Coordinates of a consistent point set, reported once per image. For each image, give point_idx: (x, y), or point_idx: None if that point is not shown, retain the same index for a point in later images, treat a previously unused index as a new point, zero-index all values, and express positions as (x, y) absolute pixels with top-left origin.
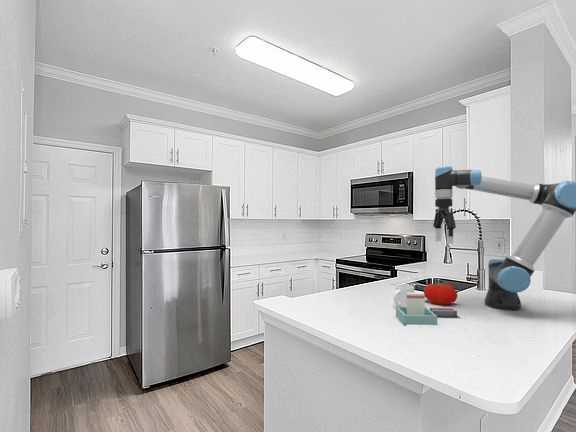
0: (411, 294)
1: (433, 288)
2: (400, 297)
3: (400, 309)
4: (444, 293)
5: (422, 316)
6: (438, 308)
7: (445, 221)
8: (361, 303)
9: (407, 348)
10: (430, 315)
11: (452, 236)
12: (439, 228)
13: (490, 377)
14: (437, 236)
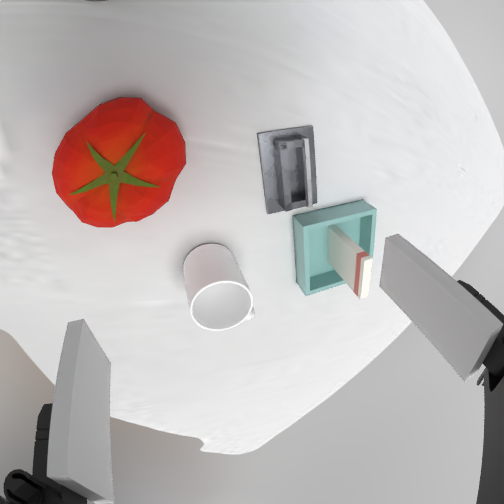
0: (367, 286)
1: (159, 202)
2: (237, 296)
3: (329, 284)
4: (181, 157)
5: (373, 239)
6: (285, 186)
7: (489, 474)
8: (203, 357)
9: (438, 256)
10: (372, 223)
11: (445, 281)
12: (61, 484)
13: (493, 179)
14: (99, 398)
